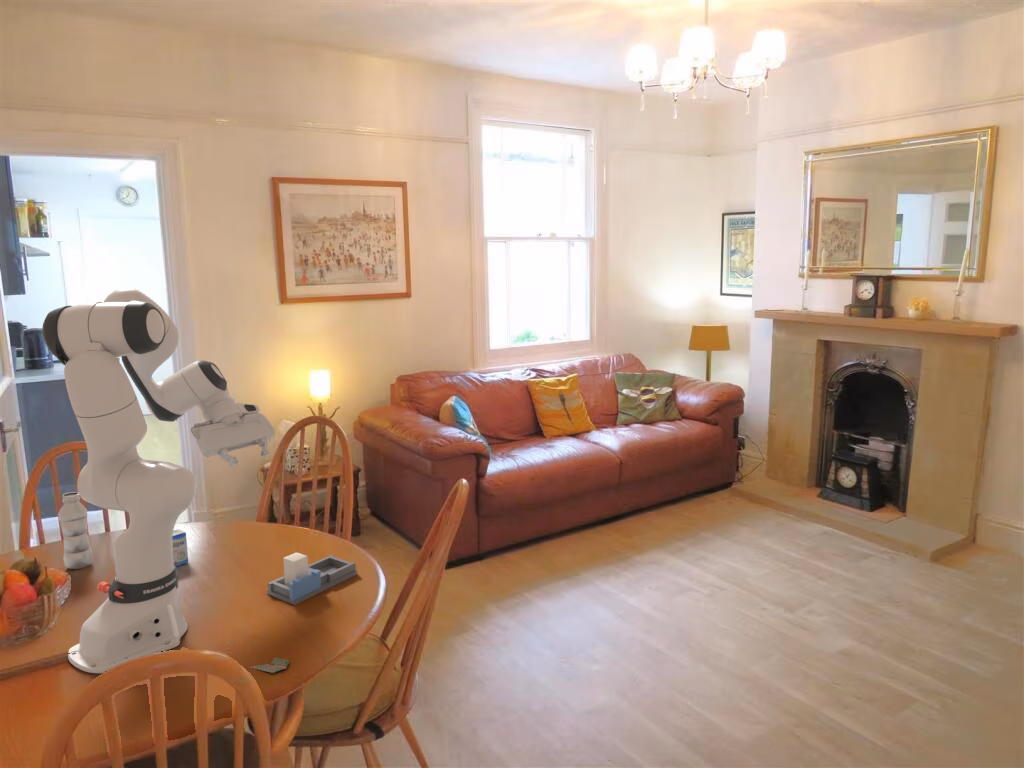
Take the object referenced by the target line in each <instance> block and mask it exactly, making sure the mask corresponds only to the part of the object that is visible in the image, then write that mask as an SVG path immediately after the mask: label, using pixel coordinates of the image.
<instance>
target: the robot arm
mask: <svg viewBox="0 0 1024 768" xmlns="http://www.w3.org/2000/svg"><path fill="white" fill-rule="evenodd" d="M42 323H43V324H42V328H41V329H42V333H41V334H42V338H43V341H44V344H45V345H46V347H47V349H48V350H49V351H50V353H51V354H52V355H53V356H54V357H56V359H57V360H58V361H59V362H60V363H61V364H62V365H64V368H63V369H64V370H63V374H64V381H65V386H66V391H67V394H68V399H69V402H70V404H71V405H70V406H71V408H72V410H73V413H74V415H75V418H76V420H77V423H78V426H79V428H80V431H81V433H82V437H83V439H84V442H85V444H86V449H87V462H86V464H85V465H84V466H83V467H82V469H81V470H80V472H79V475H78V477H77V482H76V487H77V492H78V493H79V496H80V499H82V501H85V502H86V503H88V504H91V505H93V506H97V507H98V508H101V509H104V510H112V511H119V512H120V511H121V512H127V513H128V515H129V525H128V528H127V529H125V530H123V532H121V533H120V534H119V535H118V536H117V537H116V538H115V540H114V541H113V543H112V553H113V563H114V571H115V576H114V578H113V581H112V583H108V582H106V581H101V582H99V583H98V585H96V589H97V591H99V592H101V593H102V594H107V593H108V597H107V598H106V599H105V601H103V603H101V605H100V606H98V608H97V609H96V610H95V611H94V612H93V613H92V614H91V615H90V616H89V617H88V618H87V619H86V620H85V621H84V622H83V624H82V626H81V627H80V633H79V643H77V644H75V645H73V646H72V647H70V648H69V649H68V652H67V659H68V661H69V662H70V664H72V665H73V666H74V667H75V668H77V669H78V670H81V671H83V672H86V673H90V674H105V673H106V672H105V671H107V670H109V669H111V668H113V667H115V666H117V665H120V664H122V663H125V662H127V661H129V660H132V659H135V658H138V657H141V656H144V655H148V654H152V653H156V652H160V653H162V652H161V651H163V652H166V651H168V650H171V649H174V648H176V647H178V646H179V645H180V644H181V638H182V637H183V636H184V634H185V633H186V632H187V630H188V626H189V625H188V623H187V621H186V619H185V617H184V614H183V610H182V607H181V603H180V599H179V596H178V595H179V594H178V590H177V589H178V587H179V583H178V571H177V567H175V565H174V562H173V543H172V537H173V531H174V530H175V525H176V522H177V520H178V519H179V517H180V516H181V514H182V513H184V511H186V510H187V509H188V508H189V507H190V506H191V505H192V503H193V502H194V500H195V498H196V496H197V495H196V494H197V489H198V488H197V480H196V477H195V474H194V473H193V471H191V470H190V469H188V468H187V467H184V466H181V465H178V464H175V463H173V462H169V461H161V460H150V459H145V458H144V459H143V458H142V457H141V456H140V455H139V453H138V448H137V447H138V445H139V444H140V443H141V442H142V441H143V440H144V438H145V437H146V435H147V432H148V431H147V430H148V425H147V422H146V419H145V417H144V413H143V411H142V409H141V406H140V402H139V400H138V397H137V394H136V391H135V389H134V386H133V385H132V382H133V384H134V385H135V387H136V388H137V390H138V391H139V393H140V394H141V396H142V397H143V399H144V401H145V404H146V406H147V409H148V411H149V412H150V413H151V414H152V416H153V417H155V418H156V419H157V420H158V421H162V422H170V423H171V422H176V421H177V420H178V419H180V418H181V417H182V416H184V415H185V414H186V413H188V412H189V411H190V410H193V409H195V408H196V407H198V408H199V409H200V410H201V414H202V415H201V416H202V417H203V419H204V420H205V421H204V422H201V423H195V424H193V425H192V427H191V428H190V432H191V434H192V436H193V437H194V439H195V441H196V444H197V447H198V449H199V451H200V452H201V454H202V455H203V456H204V457H205V458H210V457H213V456H219V458H221V459H222V460H224V461H225V462H227V463H228V465H229V466H230V467H234V466H237V464H239V460H238V459H237V456H236V455H234V456H232V455H230V453H229V452H234V451H238V450H241V449H245V448H250V447H254V446H259V448H261V450H260V452H259V455H260V456H261V457H262V459H263V458H266V457H269V456H270V454H271V452H270V450H269V449H268V443H269V442H271V441H272V440H273V438H274V437H275V434H276V430H275V428H274V426H273V425H272V423H271V422H270V421H269V419H268V418H267V417H266V416H265V415H264V414H263V413H261V412H260V411H261V408H260V407H259V406H258V405H257V404H254V403H253V404H250V403H243V402H237V400H235V398H234V397H233V396H231V394H230V392H229V388H228V381H227V380H226V378H225V377H224V375H223V373H222V372H221V370H220V368H219V367H218V366H217V365H216V364H215V363H214V362H211V361H207V360H201V359H198V360H195V361H194V362H191V363H189V364H188V365H187V366H185V367H183V368H181V369H180V370H178V371H177V372H175V373H173V374H171V375H169V376H168V377H166V378H165V379H163V380H161V381H158V382H156V381H155V380H154V379H153V377H152V376H153V375H154V373H155V372H156V370H157V369H158V368H159V367H160V366H162V365H163V364H164V363H165V362H166V361H168V359H170V357H172V356H173V354H174V352H175V351H176V349H177V347H178V343H179V339H180V338H179V337H180V336H179V330H178V328H177V325H176V323H174V321H173V320H172V318H171V317H170V316H169V315H168V313H167V312H166V311H165V310H164V309H163V308H162V307H161V306H160V305H159V304H158V303H157V302H155V301H154V300H153V299H151V298H150V297H149V296H148V295H146V294H145V293H143V292H141V291H139V290H138V289H136V288H130V287H124V288H123V287H122V288H118V289H117V290H114V291H112V292H111V293H110V294H108V295H107V296H106V298H105V299H104V301H95V302H88V303H82V304H77V305H65V306H62V307H57V308H56V309H52V310H50V311H49V312H48V313H47V315H45V318H44V320H43V322H42ZM120 358H121V361H122V363H121V361H120ZM122 364H123V366H122ZM129 377H130V378H129ZM130 379H131V380H132V382H131V380H130ZM68 653H70V654H68ZM104 672H105V673H104Z"/></svg>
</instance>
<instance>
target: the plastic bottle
mask: <svg viewBox="0 0 1024 768" xmlns="http://www.w3.org/2000/svg"><path fill="white" fill-rule="evenodd" d="M80 501H81V496H80V495H79V492H78V491H77V492H76V491H72V492H66V493H63V494H62V503H63V505H62V506H61V508H60V509H59V511H58V513H57V514H58V516H57V517H58V520H59V521H58V522H59V525H60V528H61V532H62V538H63V550H64V551H63V554H62V555H63V559H62V560H63V564H64V566H65V567H66V568H67V569H68V570H69V569H70V570H79V569H82V568H83V569H84V568H86V567H88V566H90V565H91V564H92V562H93V560H94V558H93V556H94V554H93V551H92V548H91V545H90V540H89V537H88V509H87V508H86V507H85V505H83V504H82V503H81V502H80Z"/></svg>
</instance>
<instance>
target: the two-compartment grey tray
mask: <svg viewBox="0 0 1024 768" xmlns="http://www.w3.org/2000/svg"><path fill="white" fill-rule="evenodd" d="M356 566H357V565H356V562H353V561H352V562H351V561H348V560H345V559H341V558H339V557H335V555H334V554H333V555H332V554H330V555H327V556H326V557H323V558H320V559H319V560H316V561H315V562H311V563H310V564H308V575H307V576H305V577H303V578H296V579H294V580H293V582H292V583H289V587H288V586H285V579H284V575H282V576H281V577H278V578H276V579H274V580H272V581H269V582H267V589H266V594H267V595H268V596H271V597H273V598H275V599H278V600H280V601H283V602H286V603H288V604H291V605H292V606H296V605H298V604H299V603H302V602H305V601H306V600H308V599H310V598H312V597H314V596H316V595H318V594H321V593H322V592H324V591H326V590H329V589H331V588H332V587H334V586H337V585H338V584H341V583H342V582H345V581H347V580H349V579H350V578H351V579H352V578H353V577H355V576H357V575H358V570H357V567H356Z"/></svg>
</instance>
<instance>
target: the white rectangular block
mask: <svg viewBox="0 0 1024 768" xmlns="http://www.w3.org/2000/svg"><path fill="white" fill-rule="evenodd" d="M308 560H309V558H308V555H306V554H303V553H300V552H294V553H292V554H290V555H286V556H284V557H283V576H284V579H285V586H288V587H289V583H292V582H293V580H294V579H296V578H303V577H305V576H307V575H308V565H309V563H308V562H309V561H308Z"/></svg>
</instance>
